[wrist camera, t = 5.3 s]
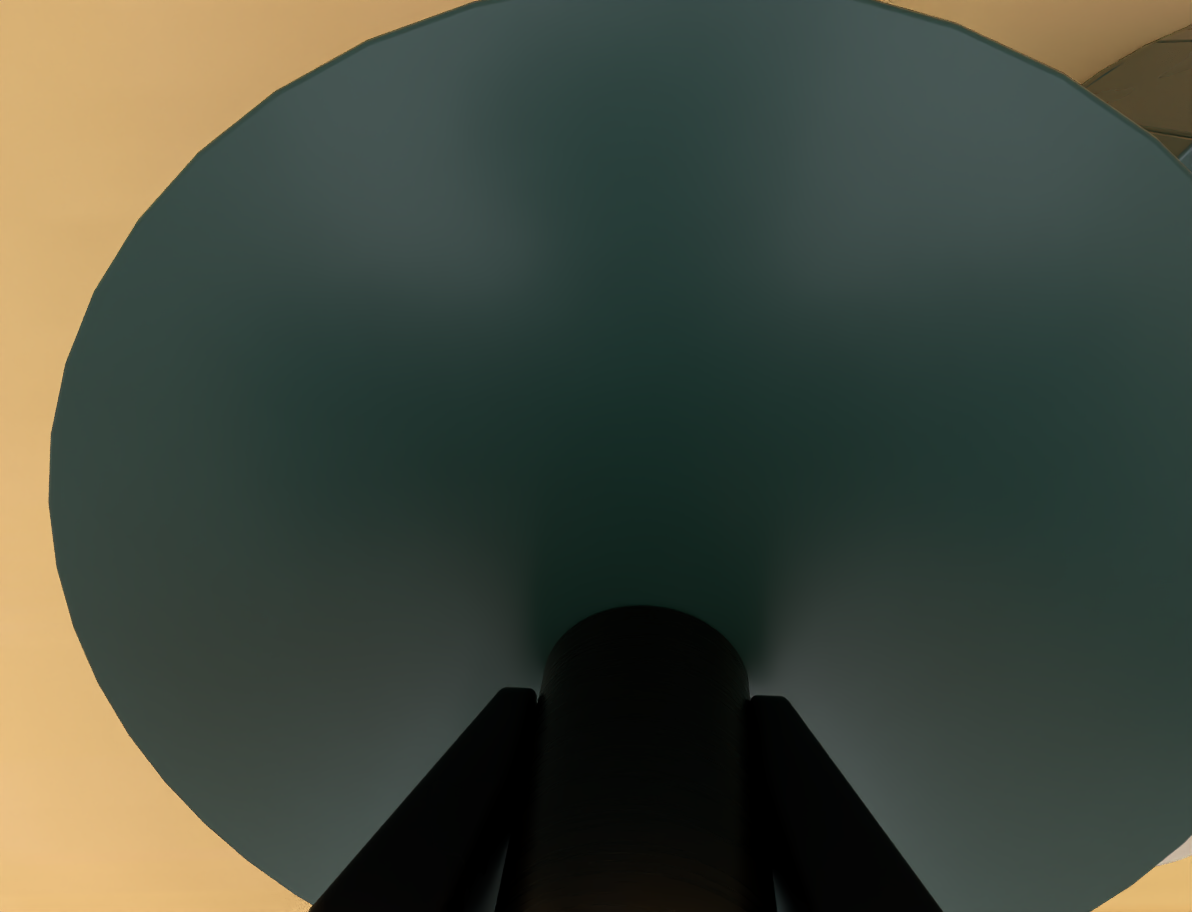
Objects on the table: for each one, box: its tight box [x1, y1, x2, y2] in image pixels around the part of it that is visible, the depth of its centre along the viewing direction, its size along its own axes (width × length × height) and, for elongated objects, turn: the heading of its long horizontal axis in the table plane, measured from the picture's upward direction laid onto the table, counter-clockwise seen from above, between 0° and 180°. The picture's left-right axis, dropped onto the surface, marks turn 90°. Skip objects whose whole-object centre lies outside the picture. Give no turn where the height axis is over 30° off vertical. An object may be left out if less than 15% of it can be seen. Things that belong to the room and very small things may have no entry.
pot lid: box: [49, 0, 1192, 912], centre depth 8 cm, size 15×15×6 cm
